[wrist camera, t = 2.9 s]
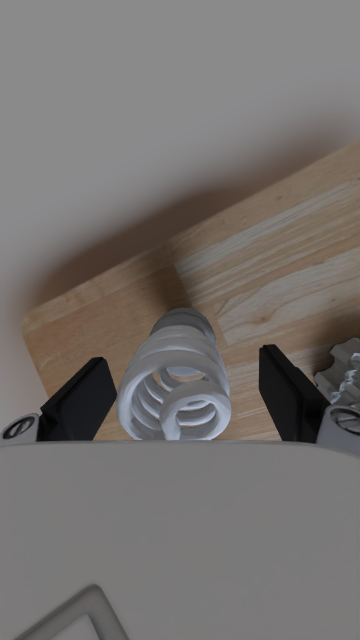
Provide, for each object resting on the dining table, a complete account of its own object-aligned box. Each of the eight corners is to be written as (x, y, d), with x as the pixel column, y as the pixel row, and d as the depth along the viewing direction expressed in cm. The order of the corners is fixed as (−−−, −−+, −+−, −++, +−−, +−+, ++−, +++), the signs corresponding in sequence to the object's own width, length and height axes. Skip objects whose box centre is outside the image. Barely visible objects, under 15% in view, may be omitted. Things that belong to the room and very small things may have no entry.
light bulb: (184, 285, 17) (162, 343, 6) (224, 323, 18) (273, 439, 7) (148, 324, 18) (74, 428, 7) (186, 356, 19) (173, 493, 8)
